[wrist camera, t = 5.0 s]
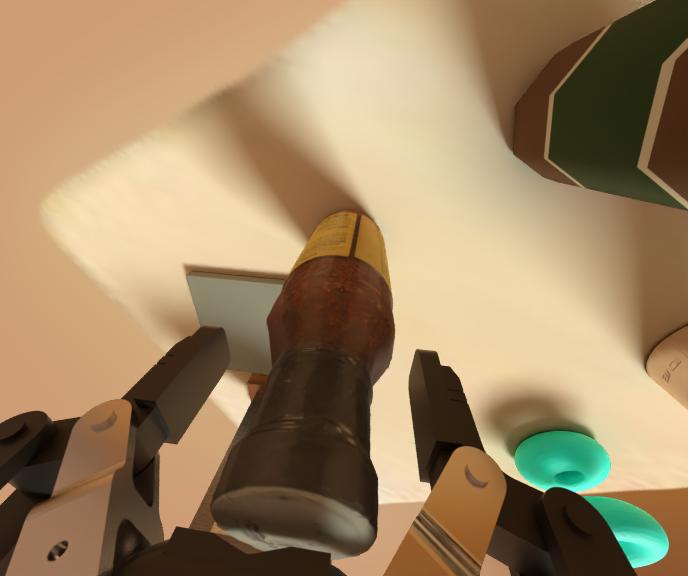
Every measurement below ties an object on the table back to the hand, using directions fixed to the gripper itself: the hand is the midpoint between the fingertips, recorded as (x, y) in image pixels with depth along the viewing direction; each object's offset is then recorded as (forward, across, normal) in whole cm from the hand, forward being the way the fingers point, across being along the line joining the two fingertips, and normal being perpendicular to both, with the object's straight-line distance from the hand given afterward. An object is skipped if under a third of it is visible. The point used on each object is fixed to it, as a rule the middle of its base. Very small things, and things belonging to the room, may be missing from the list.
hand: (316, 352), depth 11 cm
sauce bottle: (+14, 0, 0) cm, 14 cm away
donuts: (+14, -28, +26) cm, 41 cm away
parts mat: (+14, +10, +11) cm, 21 cm away
